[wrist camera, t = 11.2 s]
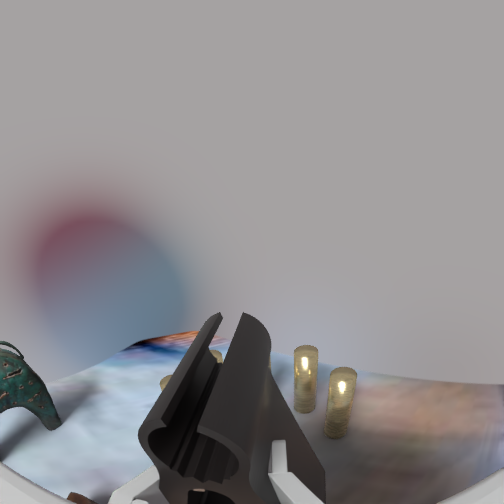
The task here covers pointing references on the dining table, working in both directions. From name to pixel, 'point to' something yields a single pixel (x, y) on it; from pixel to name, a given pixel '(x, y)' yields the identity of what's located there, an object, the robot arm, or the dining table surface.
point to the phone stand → (225, 424)
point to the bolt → (79, 499)
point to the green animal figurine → (24, 388)
